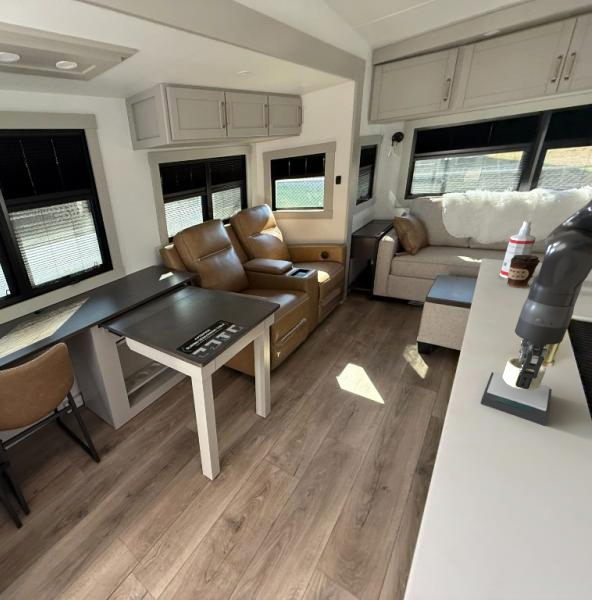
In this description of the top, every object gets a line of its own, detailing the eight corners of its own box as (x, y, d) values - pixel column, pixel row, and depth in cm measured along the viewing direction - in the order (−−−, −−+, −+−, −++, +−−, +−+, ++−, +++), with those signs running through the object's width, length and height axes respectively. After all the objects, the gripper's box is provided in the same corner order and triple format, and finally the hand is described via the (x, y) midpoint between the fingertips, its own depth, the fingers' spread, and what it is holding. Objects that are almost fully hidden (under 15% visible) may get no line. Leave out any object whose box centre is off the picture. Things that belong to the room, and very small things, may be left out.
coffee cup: (524, 290, 131) (533, 260, 126) (499, 285, 138) (507, 256, 133) (535, 285, 134) (545, 256, 129) (510, 280, 141) (518, 252, 136)
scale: (489, 378, 86) (492, 369, 85) (549, 396, 78) (552, 386, 77) (480, 403, 78) (483, 394, 77) (544, 426, 71) (549, 416, 69)
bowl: (513, 373, 81) (519, 354, 79) (545, 387, 75) (552, 368, 73) (495, 379, 79) (501, 361, 77) (526, 394, 74) (534, 375, 71)
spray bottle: (498, 277, 146) (514, 222, 136) (500, 272, 150) (516, 219, 140) (522, 279, 140) (540, 223, 130) (524, 275, 145) (541, 220, 135)
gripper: (572, 336, 63) (545, 402, 70) (566, 310, 72) (542, 370, 79) (520, 327, 68) (499, 389, 74) (520, 303, 77) (501, 360, 84)
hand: (521, 379), depth 77 cm, fingers closed on bowl, 6 cm apart
